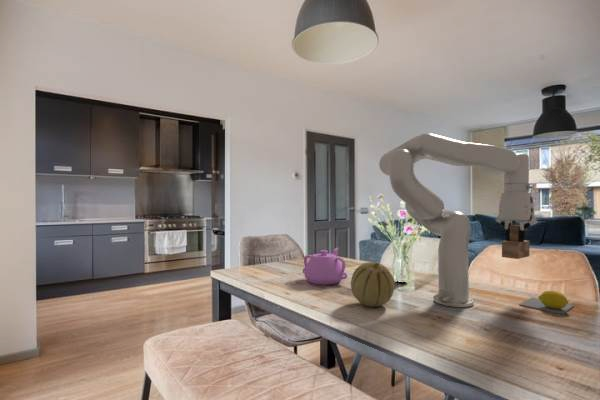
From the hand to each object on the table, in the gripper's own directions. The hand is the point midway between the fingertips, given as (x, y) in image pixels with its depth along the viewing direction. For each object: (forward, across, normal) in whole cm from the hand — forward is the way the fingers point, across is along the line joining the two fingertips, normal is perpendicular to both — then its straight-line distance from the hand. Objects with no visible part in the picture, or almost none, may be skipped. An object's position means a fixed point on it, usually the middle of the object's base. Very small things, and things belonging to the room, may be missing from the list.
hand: (515, 240), depth 123 cm
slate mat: (+21, -9, 0) cm, 23 cm away
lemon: (+18, -8, +3) cm, 20 cm away
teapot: (+22, +64, +32) cm, 75 cm away
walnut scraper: (+6, 0, 0) cm, 6 cm away
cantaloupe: (+22, +27, +44) cm, 56 cm away
